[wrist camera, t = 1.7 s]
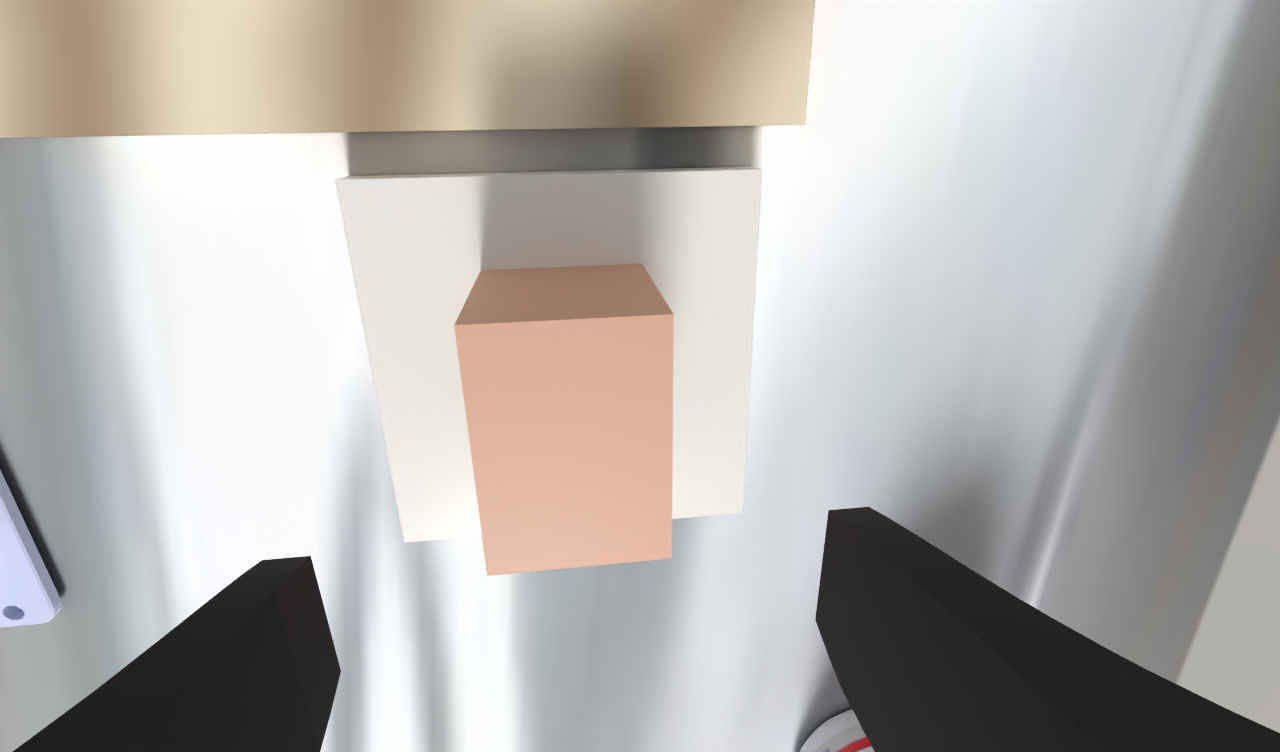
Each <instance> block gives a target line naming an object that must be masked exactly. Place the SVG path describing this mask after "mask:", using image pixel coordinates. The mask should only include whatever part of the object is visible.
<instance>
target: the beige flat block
mask: <svg viewBox="0 0 1280 752" xmlns="http://www.w3.org/2000/svg"><path fill="white" fill-rule="evenodd" d="M814 8H815V0H0V138H15V137H77V136H140V135H203V134H265V133H328V132H390V131H453V130H515V129H578V128H640V127H703V126H765V125H805V120H806V107H807V95H808V83H809V70H810V58H811V46H812V33H813V21H814Z"/></svg>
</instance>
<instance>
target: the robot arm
mask: <svg viewBox="0 0 1280 752" xmlns="http://www.w3.org/2000/svg"><path fill="white" fill-rule="evenodd" d="M18 607H19V608H18ZM20 608H21V609H20ZM61 608H62V602H61V599H60V597H59V595H58V592H57V590H56V588H55V586H54V584H53V582H52V580H51V577H50V575H49V573H48V571H47V569H46V567H45V565H44V562H43V560H42V558H41V556H40V554H39V552H38V549H37V547H36V545H35V543H34V541H33V539H32V537H31V534H30V532H29V530H28V528H27V526H26V524H25V522H24V519H23V517H22V515H21V513H20V511H19V509H18V506H17V504H16V502H15V500H14V498H13V496H12V494H11V491H10V489H9V487H8V485H7V483H6V481H5V479H4V476H3V474H2V472H1V470H0V627H9V626H20V625H30V624H40V623H45V622H48V621H50V620H51V619H52V618H53V617H54V616H55V615H56V614H57V613H58V612H59V611H60V610H61ZM816 623H817V625H818V628H819V631H820V634H821V636H822V639H823V642H824V644H825V647H826V650H827V653H828V655H829V658H830V660H831V663H832V666H833V668H834V671H835V673H836V676H837V678H838V681H839V683H840V686H841V688H842V690H843V692H844V694H845V696H846V698H847V700H848V702H849V704H850V706H851V708H852V710H853V711H854V713H855V715H856V717H857V719H858V721H859V723H860V725H861V727H862V729H863V731H864V733H865V735H866V737H867V738H868V740H869V742H870V744H871V746H872V748H873V750H874V752H1280V733H1278V732H1275V731H1274V730H1271V729H1269V728H1267V727H1265V726H1263V725H1260V724H1258V723H1256V722H1254V721H1251V720H1249V719H1247V718H1245V717H1243V716H1241V715H1239V714H1236V713H1234V712H1232V711H1230V710H1228V709H1226V708H1224V707H1222V706H1220V705H1218V704H1216V703H1213V702H1211V701H1209V700H1207V699H1205V698H1203V697H1201V696H1199V695H1197V694H1195V693H1193V692H1191V691H1189V690H1187V689H1185V688H1183V687H1181V686H1179V685H1177V684H1175V683H1173V682H1171V681H1169V680H1167V679H1165V678H1163V677H1160V676H1158V675H1156V674H1154V673H1152V672H1150V671H1148V670H1146V669H1144V668H1143V667H1141V666H1139V665H1137V664H1135V663H1133V662H1131V661H1129V660H1127V659H1125V658H1123V657H1121V656H1120V655H1118V654H1116V653H1114V652H1112V651H1110V650H1108V649H1107V648H1105V647H1103V646H1101V645H1099V644H1098V643H1096V642H1094V641H1092V640H1090V639H1089V638H1087V637H1085V636H1083V635H1081V634H1080V633H1078V632H1076V631H1074V630H1072V629H1071V628H1069V627H1067V626H1065V625H1063V624H1062V623H1060V622H1058V621H1056V620H1054V619H1053V618H1051V617H1049V616H1048V615H1046V614H1044V613H1042V612H1041V611H1039V610H1037V609H1036V608H1034V607H1032V606H1030V605H1029V604H1027V603H1025V602H1024V601H1022V600H1020V599H1019V598H1017V597H1015V596H1014V595H1012V594H1010V593H1009V592H1007V591H1005V590H1004V589H1002V588H1000V587H999V586H997V585H995V584H994V583H992V582H991V581H989V580H987V579H986V578H984V577H982V576H981V575H979V574H977V573H976V572H974V571H973V570H971V569H969V568H968V567H966V566H965V565H963V564H961V563H960V562H958V561H957V560H955V559H953V558H952V557H950V556H949V555H947V554H946V553H944V552H942V551H941V550H939V549H938V548H936V547H934V546H933V545H931V544H930V543H928V542H926V541H925V540H923V539H922V538H920V537H918V536H917V535H915V534H914V533H912V532H910V531H909V530H907V529H906V528H904V527H902V526H901V525H899V524H897V523H896V522H894V521H893V520H891V519H889V518H887V517H886V516H884V515H882V514H881V513H879V512H877V511H875V510H873V509H871V508H870V507H862V508H851V509H839V510H829V512H828V520H827V528H826V537H825V545H824V553H823V562H822V570H821V578H820V586H819V595H818V603H817V611H816ZM340 672H341V670H340V666H339V663H338V659H337V655H336V651H335V647H334V644H333V640H332V636H331V632H330V628H329V625H328V621H327V617H326V613H325V609H324V606H323V602H322V598H321V594H320V590H319V587H318V583H317V579H316V575H315V571H314V568H313V564H312V560H311V556H306V557H295V558H283V559H272V560H262V561H261V562H259V563H258V564H256V565H255V566H254V567H252V568H251V569H249V570H248V571H247V572H245V573H244V574H243V575H241V576H240V577H239V578H237V579H236V580H235V581H233V582H232V583H231V584H230V585H228V586H227V587H226V588H224V589H223V590H222V591H221V592H219V593H218V594H217V595H216V596H214V597H213V598H212V599H210V600H209V601H208V602H207V603H205V604H204V605H203V606H202V607H200V608H199V609H198V610H197V611H195V612H194V613H193V614H192V615H190V616H189V617H188V618H187V619H185V620H184V621H183V622H182V623H180V624H179V625H178V626H177V627H175V628H174V629H173V630H172V631H170V632H169V633H168V634H167V635H165V636H164V637H163V638H161V639H160V640H159V641H158V642H156V643H155V644H154V645H153V646H151V647H150V648H149V649H147V650H146V651H145V652H144V653H142V654H141V655H140V656H139V657H137V658H136V659H135V660H134V661H132V662H131V663H130V664H128V665H127V666H126V667H125V668H123V669H122V670H121V671H120V672H118V673H117V674H116V675H114V676H113V677H112V678H111V679H109V680H108V681H107V682H106V683H104V684H103V685H102V686H100V687H99V688H98V689H97V690H95V691H94V692H93V693H91V694H90V695H89V696H87V697H86V698H85V699H83V700H82V701H80V702H79V703H78V704H76V705H75V706H74V707H72V708H71V709H70V710H68V711H67V712H66V713H64V714H63V715H62V716H60V717H59V718H58V719H56V720H55V721H54V722H52V723H51V724H49V725H48V726H47V727H45V728H44V729H43V730H41V731H40V732H39V733H37V734H36V735H35V736H33V737H32V738H31V739H29V740H28V741H27V742H25V743H24V744H23V745H21V746H20V747H18V748H17V749H16V750H14V751H13V752H320V750H321V746H322V742H323V739H324V735H325V731H326V728H327V724H328V720H329V717H330V713H331V709H332V705H333V701H334V697H335V693H336V689H337V685H338V680H339V676H340Z"/></svg>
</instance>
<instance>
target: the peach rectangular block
mask: <svg viewBox="0 0 1280 752" xmlns="http://www.w3.org/2000/svg"><path fill="white" fill-rule="evenodd" d="M454 329H455V336H456V344H457V351H458V359H459V366H460V374H461V381H462V389H463V396H464V404H465V411H466V419H467V426H468V434H469V442H470V449H471V457H472V464H473V472H474V479H475V487H476V494H477V502H478V509H479V517H480V524H481V532H482V540H483V547H484V555H485V562H486V570H487V576H490V575H500V574H511V573H521V572H532V571H542V570H553V569H563V568H574V567H584V566H595V565H605V564H615V563H626V562H636V561H647V560H657V559H668V558H672V468H673V332H674V314H673V312H672V311H671V309H670V308H669V306H668V304H667V303H666V301H665V300H664V298H663V296H662V295H661V293H660V292H659V290H658V288H657V287H656V285H655V284H654V282H653V280H652V279H651V277H650V276H649V274H648V272H647V271H646V269H645V268H644V266H643V264H620V265H596V266H571V267H547V268H522V269H498V270H481V271H480V273H479V275H478V277H477V279H476V281H475V283H474V285H473V287H472V289H471V291H470V293H469V295H468V298H467V300H466V302H465V304H464V306H463V308H462V310H461V312H460V314H459V316H458V318H457V320H456V322H455V324H454Z"/></svg>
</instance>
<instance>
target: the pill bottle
mask: <svg viewBox="0 0 1280 752" xmlns="http://www.w3.org/2000/svg"><path fill="white" fill-rule="evenodd" d="M799 752H874V750H873V748H872V746H871V744H870V742H869V740H868V738H867V737H866V735H865V733H864V731H863V729H862V727H861V725H860V723H859V721H858V719H857V717H856V715H855V713H854V711H853V710H852V709H851V710H848V711H845V712H843V713H841V714H838V715H836V716H834V717H832V718H831V719H829V720H827V721H826V722H824V723H823V724H822V725H820V726H819V727H818V728H817V729H816V730H815V731H814V732H813V733H812V734H811V735H810V737H809V738H808V739H807V740H806V742H805V743H804V745H803V746H802V748H801V750H800V751H799Z"/></svg>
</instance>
